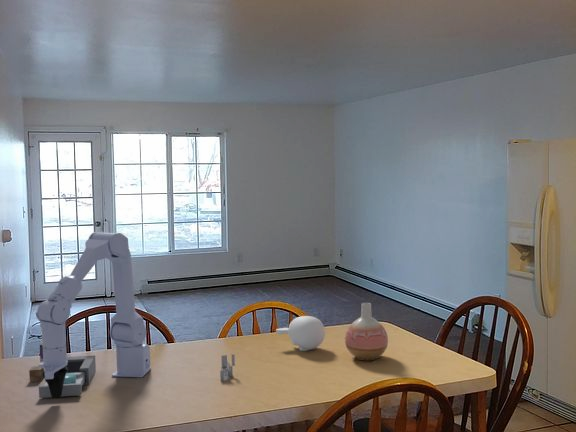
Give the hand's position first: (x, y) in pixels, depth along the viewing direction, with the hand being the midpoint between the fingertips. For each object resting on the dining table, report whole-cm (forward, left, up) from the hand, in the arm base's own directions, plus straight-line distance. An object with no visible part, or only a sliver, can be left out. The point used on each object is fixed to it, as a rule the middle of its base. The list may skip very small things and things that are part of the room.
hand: (56, 396), depth 160 cm
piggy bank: (-60, -55, -2) cm, 81 cm away
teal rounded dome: (+3, -10, 0) cm, 11 cm away
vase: (-81, -45, -2) cm, 93 cm away
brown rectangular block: (+15, -17, -2) cm, 22 cm away
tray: (+3, -10, -2) cm, 11 cm away
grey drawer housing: (+5, -18, -2) cm, 18 cm away
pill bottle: (+19, -32, -2) cm, 37 cm away
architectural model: (-46, -22, -2) cm, 51 cm away
